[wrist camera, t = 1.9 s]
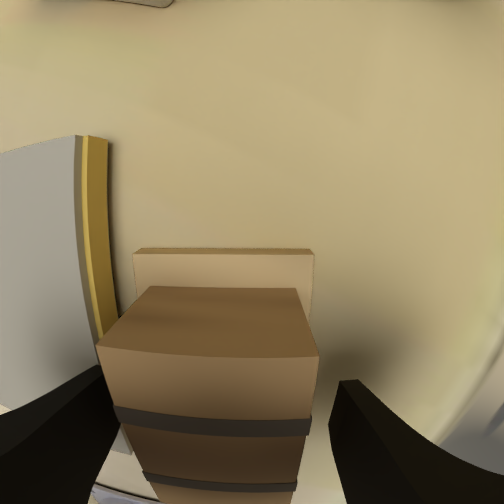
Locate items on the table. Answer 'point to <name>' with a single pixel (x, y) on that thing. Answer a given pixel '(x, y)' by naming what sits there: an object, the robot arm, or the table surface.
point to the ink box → (151, 2)
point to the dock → (54, 267)
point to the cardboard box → (216, 372)
